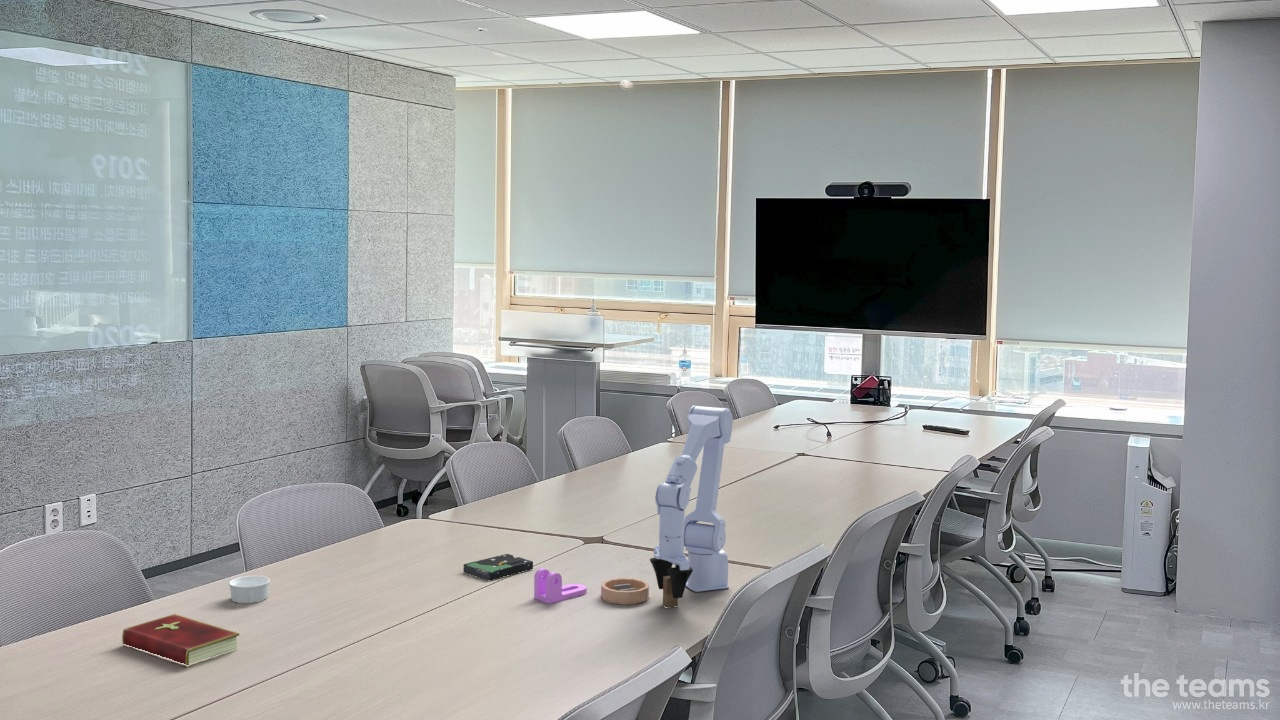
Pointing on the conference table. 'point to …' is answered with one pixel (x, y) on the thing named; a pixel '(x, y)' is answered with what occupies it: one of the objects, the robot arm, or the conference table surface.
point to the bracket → (554, 587)
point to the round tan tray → (624, 591)
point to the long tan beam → (668, 593)
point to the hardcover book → (180, 638)
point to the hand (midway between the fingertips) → (670, 593)
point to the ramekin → (249, 589)
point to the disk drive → (497, 566)
